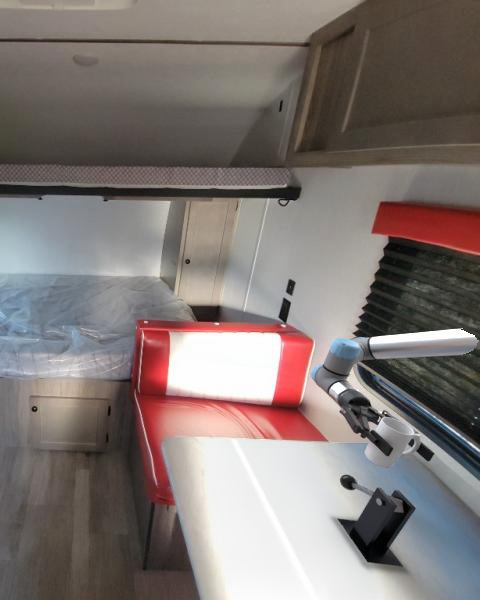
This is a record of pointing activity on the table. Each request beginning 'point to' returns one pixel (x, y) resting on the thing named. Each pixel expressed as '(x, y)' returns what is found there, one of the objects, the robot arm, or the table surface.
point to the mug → (392, 442)
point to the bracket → (379, 527)
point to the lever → (366, 490)
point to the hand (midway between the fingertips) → (410, 454)
